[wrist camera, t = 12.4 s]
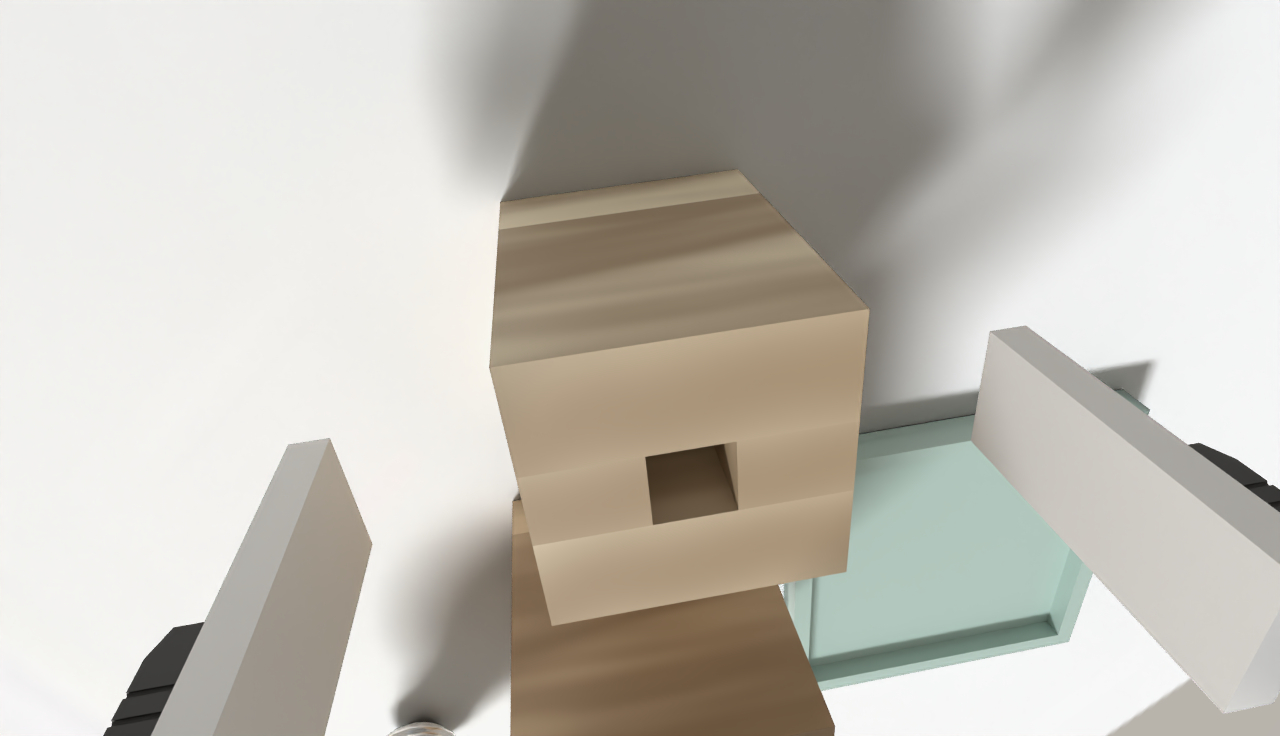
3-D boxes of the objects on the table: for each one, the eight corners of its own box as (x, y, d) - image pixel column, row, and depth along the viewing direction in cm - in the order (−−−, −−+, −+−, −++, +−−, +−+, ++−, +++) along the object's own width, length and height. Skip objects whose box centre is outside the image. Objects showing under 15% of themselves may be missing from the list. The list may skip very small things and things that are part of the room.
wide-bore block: (512, 501, 22) (509, 792, 15) (729, 464, 23) (834, 726, 15) (548, 643, 26) (561, 934, 18) (734, 608, 27) (821, 877, 19)
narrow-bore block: (500, 201, 18) (489, 368, 11) (737, 168, 18) (870, 309, 11) (540, 400, 21) (552, 626, 14) (741, 368, 21) (846, 571, 14)
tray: (786, 446, 23) (798, 470, 22) (1123, 389, 24) (1149, 409, 23) (782, 670, 29) (792, 696, 28) (1050, 617, 30) (1068, 641, 29)
